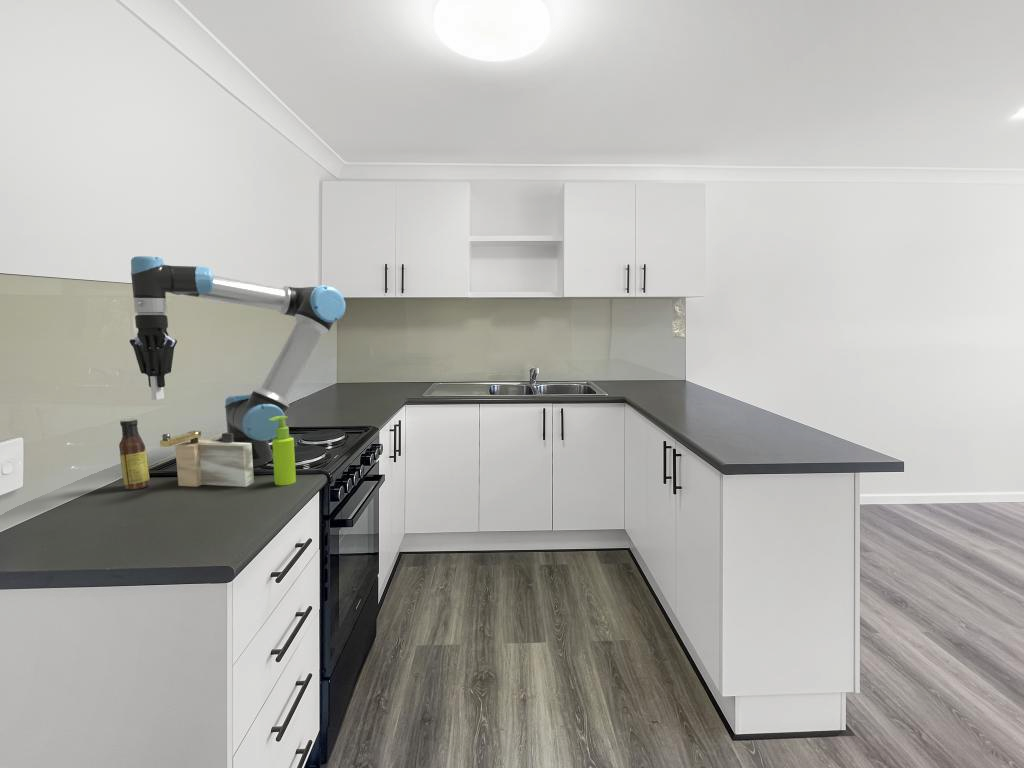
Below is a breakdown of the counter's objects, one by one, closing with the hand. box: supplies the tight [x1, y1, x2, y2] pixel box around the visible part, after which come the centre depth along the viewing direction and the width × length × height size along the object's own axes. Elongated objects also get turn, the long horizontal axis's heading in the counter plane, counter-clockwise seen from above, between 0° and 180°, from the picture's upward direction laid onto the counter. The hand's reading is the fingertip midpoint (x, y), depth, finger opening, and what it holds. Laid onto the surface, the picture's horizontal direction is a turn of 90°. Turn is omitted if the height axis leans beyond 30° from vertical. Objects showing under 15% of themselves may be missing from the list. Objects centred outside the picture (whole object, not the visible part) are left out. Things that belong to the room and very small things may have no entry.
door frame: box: [174, 432, 255, 488], centre depth 164 cm, size 8×20×15 cm, turn 81°
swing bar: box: [159, 430, 202, 448], centre depth 160 cm, size 13×3×3 cm, turn 171°
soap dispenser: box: [269, 415, 297, 486], centre depth 164 cm, size 6×7×20 cm
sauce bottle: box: [118, 418, 150, 491], centre depth 160 cm, size 7×6×20 cm
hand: (158, 398), depth 157 cm, fingers closed
